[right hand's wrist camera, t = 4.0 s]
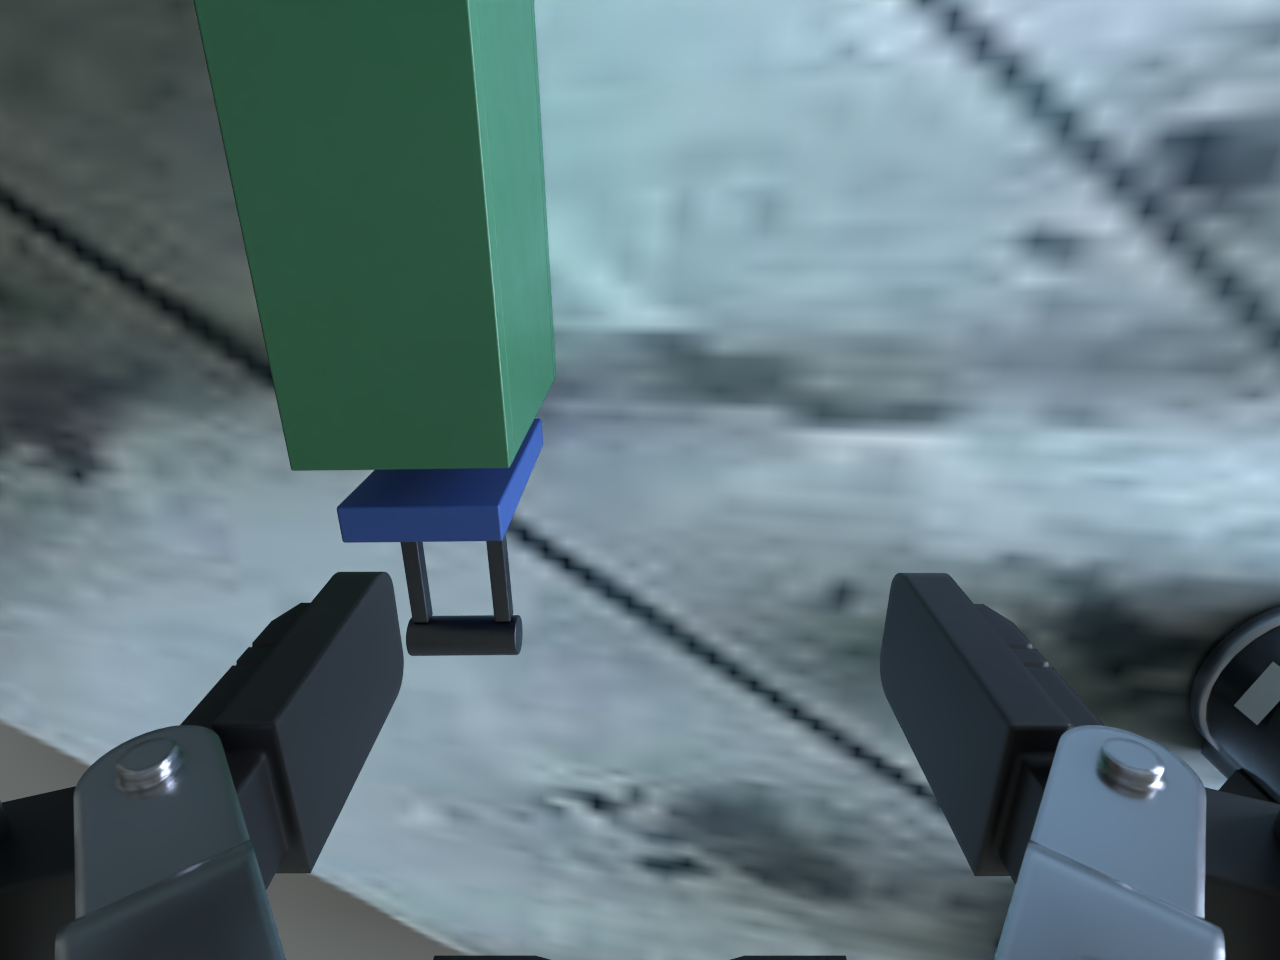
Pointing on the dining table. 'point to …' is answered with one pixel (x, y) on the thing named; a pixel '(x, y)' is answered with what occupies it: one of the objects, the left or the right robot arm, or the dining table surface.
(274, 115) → the cabinet
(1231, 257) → the dining table surface
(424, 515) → the drawer
